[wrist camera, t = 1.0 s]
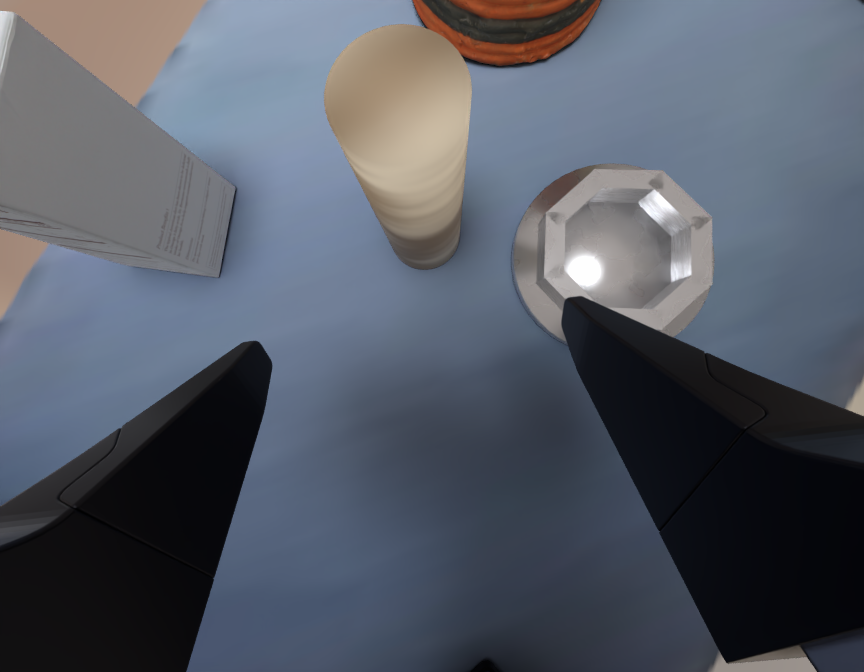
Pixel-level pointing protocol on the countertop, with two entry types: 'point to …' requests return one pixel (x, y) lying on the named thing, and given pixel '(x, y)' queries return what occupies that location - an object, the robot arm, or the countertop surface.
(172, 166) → the supplement box
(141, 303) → the countertop surface
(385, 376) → the countertop surface
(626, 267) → the socket ring
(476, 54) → the beer stein
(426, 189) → the knob post
